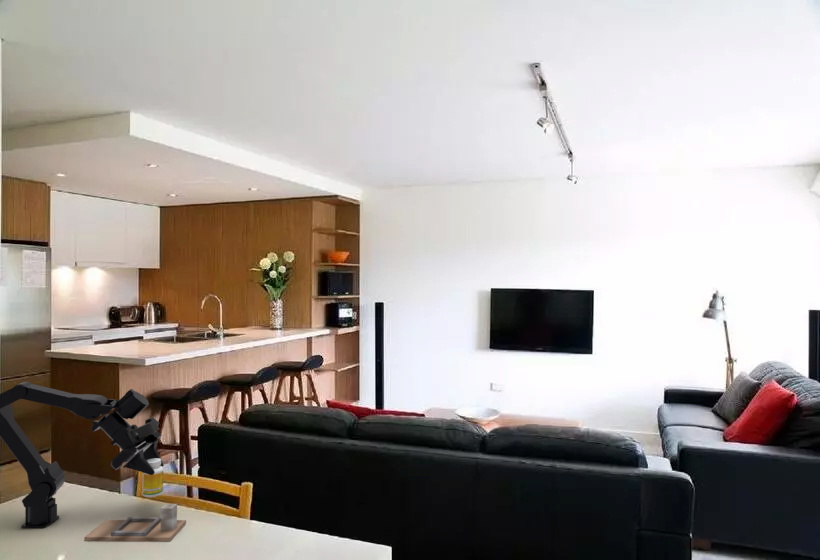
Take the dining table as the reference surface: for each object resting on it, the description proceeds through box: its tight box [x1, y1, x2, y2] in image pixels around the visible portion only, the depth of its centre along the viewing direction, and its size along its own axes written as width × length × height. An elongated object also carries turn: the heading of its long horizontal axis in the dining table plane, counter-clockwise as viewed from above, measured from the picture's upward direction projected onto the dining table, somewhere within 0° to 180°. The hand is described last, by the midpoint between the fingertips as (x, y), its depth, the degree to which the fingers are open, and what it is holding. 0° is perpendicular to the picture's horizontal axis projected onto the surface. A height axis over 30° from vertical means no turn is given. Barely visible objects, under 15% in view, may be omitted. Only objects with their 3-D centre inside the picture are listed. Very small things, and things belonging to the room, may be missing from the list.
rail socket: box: [84, 503, 187, 542], centre depth 143 cm, size 22×10×7 cm, turn 91°
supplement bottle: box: [141, 458, 164, 498], centre depth 152 cm, size 5×5×10 cm
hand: (157, 470), depth 152 cm, fingers closed on supplement bottle, 5 cm apart
